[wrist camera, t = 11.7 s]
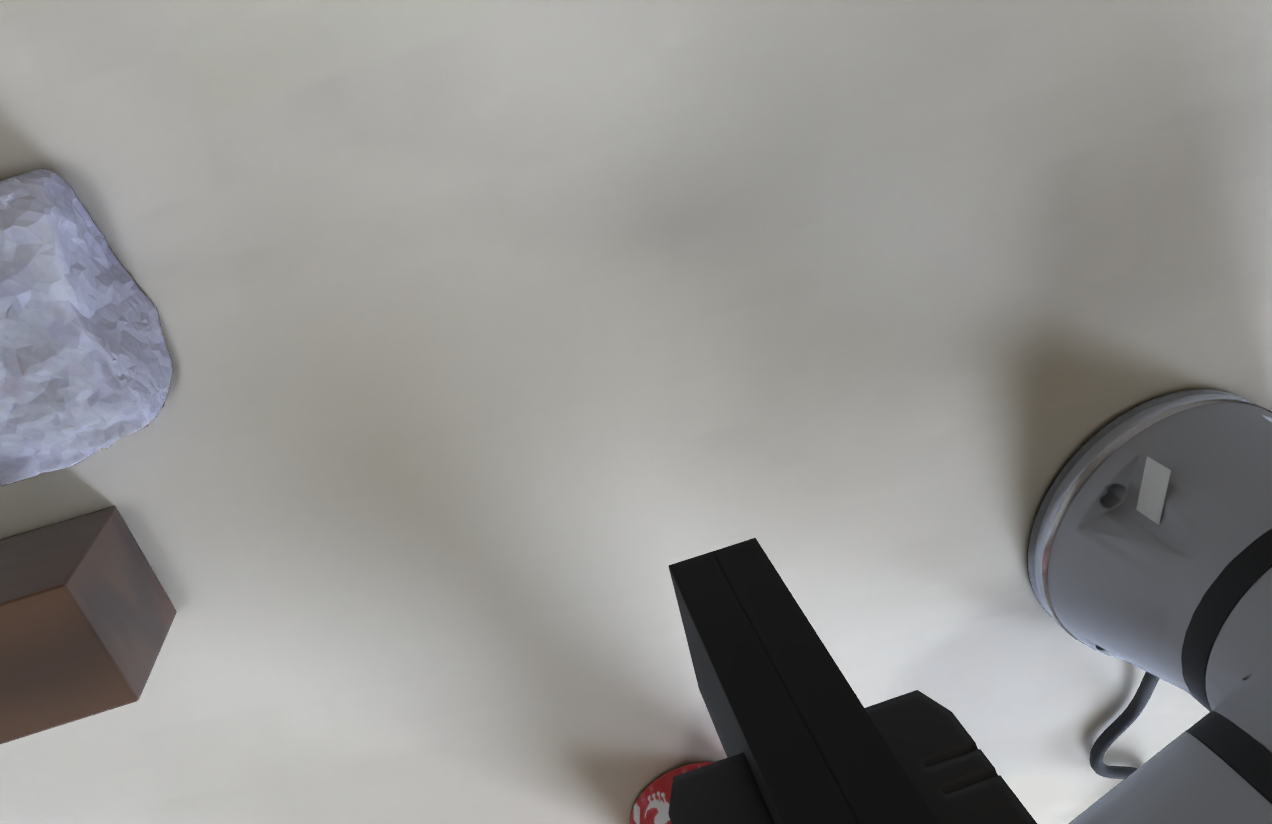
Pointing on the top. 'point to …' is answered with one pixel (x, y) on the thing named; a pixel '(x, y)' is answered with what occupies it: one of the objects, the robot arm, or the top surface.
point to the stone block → (68, 334)
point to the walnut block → (75, 622)
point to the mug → (658, 798)
